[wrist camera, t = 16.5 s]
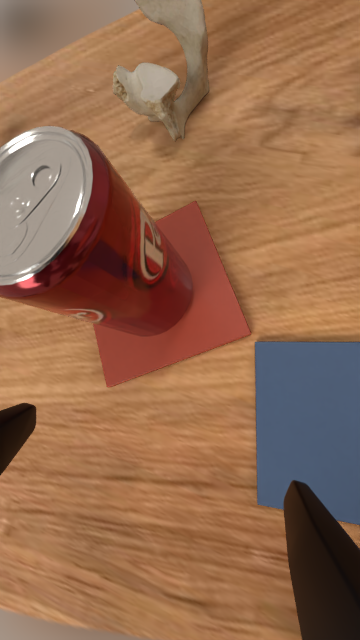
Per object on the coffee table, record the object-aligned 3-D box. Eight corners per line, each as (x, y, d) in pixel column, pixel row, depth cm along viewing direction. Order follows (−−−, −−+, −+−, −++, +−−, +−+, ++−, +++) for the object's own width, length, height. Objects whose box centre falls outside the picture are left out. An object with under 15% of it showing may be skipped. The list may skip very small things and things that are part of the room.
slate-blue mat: (465, 541, 13) (473, 548, 12) (257, 501, 16) (257, 504, 16) (435, 343, 15) (441, 342, 14) (255, 342, 18) (254, 341, 17)
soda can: (142, 356, 20) (-17, 336, 9) (99, 291, 22) (-66, 211, 11) (214, 296, 19) (138, 186, 8) (161, 235, 22) (47, 87, 10)
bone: (125, 162, 23) (61, -13, 16) (137, 145, 27) (91, 2, 20) (221, 133, 21) (194, -80, 14) (217, 119, 25) (195, -48, 19)
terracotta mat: (251, 334, 18) (251, 333, 18) (110, 387, 21) (106, 387, 20) (197, 203, 22) (195, 200, 21) (82, 263, 24) (79, 261, 24)
